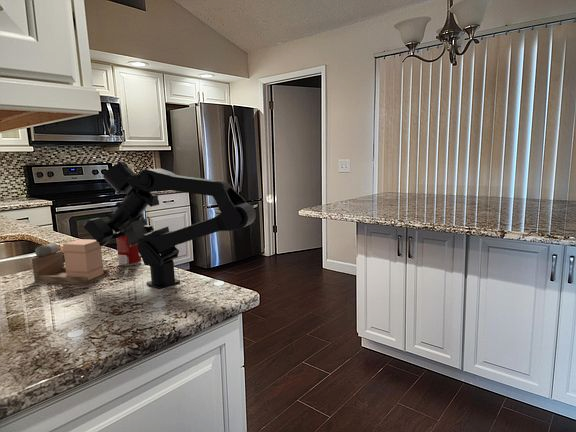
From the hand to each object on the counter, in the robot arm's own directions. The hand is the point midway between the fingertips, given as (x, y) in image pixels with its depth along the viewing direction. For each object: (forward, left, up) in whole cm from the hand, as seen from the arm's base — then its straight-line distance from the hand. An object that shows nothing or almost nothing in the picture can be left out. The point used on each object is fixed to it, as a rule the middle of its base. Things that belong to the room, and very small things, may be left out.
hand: (101, 245), depth 104 cm
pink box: (+6, +3, -9) cm, 11 cm away
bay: (+10, +5, -10) cm, 15 cm away
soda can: (+9, -13, -10) cm, 19 cm away
